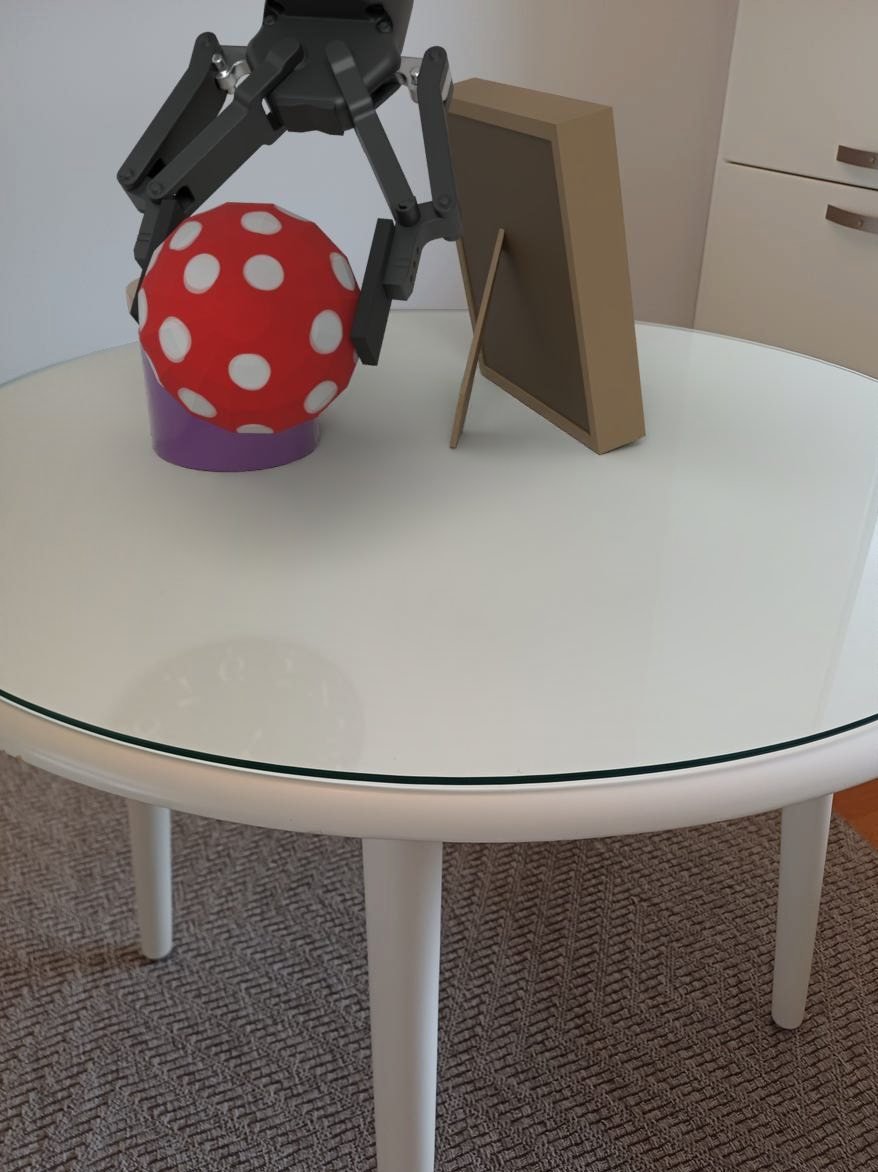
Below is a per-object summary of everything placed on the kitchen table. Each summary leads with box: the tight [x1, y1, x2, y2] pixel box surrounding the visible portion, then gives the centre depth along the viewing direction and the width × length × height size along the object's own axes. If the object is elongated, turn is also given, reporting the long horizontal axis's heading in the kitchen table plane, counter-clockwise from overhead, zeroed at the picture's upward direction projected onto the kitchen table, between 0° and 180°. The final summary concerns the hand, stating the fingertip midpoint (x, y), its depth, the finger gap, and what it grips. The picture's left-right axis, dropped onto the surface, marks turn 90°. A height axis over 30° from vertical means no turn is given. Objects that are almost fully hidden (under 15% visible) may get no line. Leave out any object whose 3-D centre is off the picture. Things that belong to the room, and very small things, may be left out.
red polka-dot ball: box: [138, 201, 361, 434], centre depth 58 cm, size 11×11×15 cm
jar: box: [125, 277, 321, 472], centre depth 86 cm, size 14×14×12 cm
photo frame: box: [447, 77, 647, 456], centre depth 89 cm, size 15×22×25 cm
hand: (253, 340), depth 56 cm, fingers closed on red polka-dot ball, 11 cm apart
